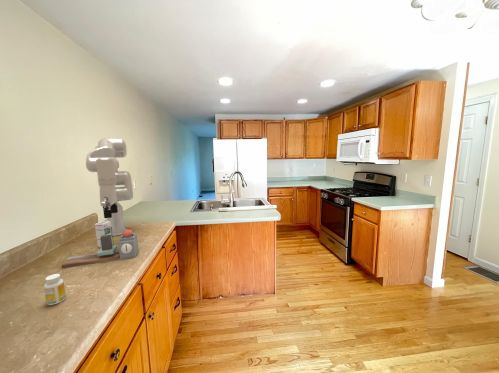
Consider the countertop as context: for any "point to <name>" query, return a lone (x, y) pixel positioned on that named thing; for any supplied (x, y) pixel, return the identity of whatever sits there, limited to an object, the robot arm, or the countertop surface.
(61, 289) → the supplement bottle
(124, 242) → the cabinet
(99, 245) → the syrup box
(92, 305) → the countertop surface
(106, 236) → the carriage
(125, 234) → the button
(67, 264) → the rail bed
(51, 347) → the countertop surface
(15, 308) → the countertop surface
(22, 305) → the countertop surface
